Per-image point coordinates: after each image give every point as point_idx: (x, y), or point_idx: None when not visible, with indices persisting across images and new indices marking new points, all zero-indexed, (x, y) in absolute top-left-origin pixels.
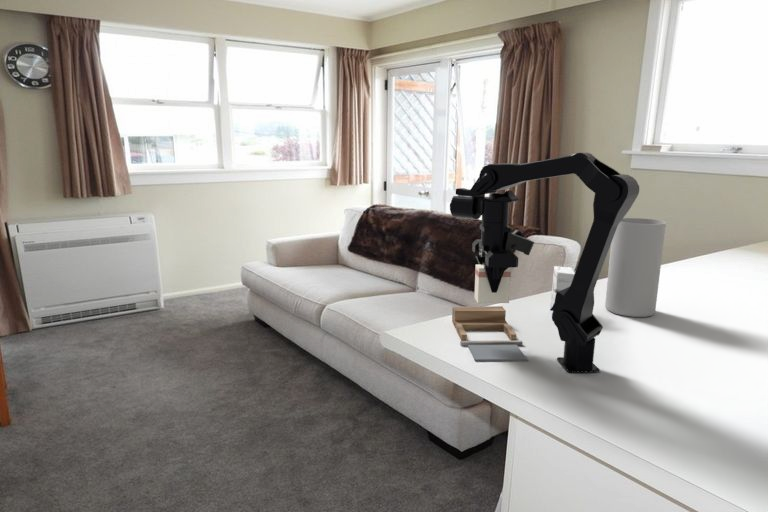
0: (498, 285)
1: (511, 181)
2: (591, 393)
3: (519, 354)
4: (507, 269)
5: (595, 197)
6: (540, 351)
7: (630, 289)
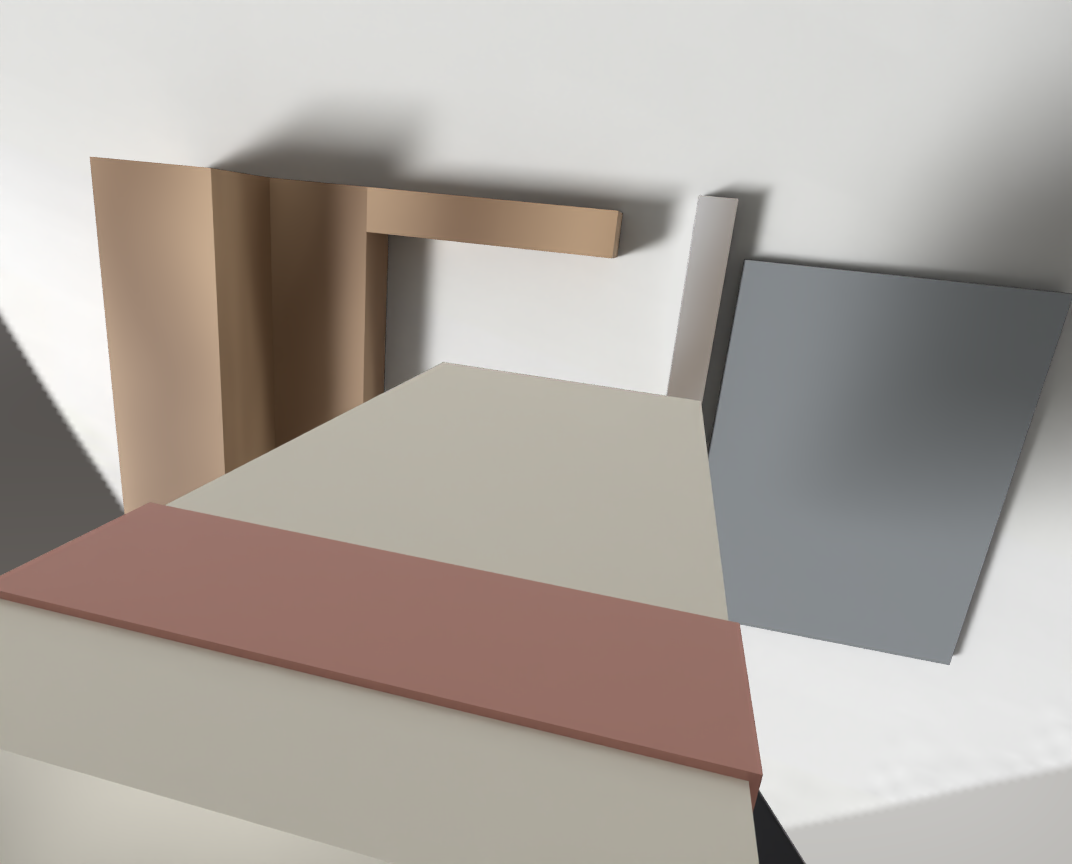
0: (759, 800)
1: None
2: None
3: (957, 320)
4: None
5: None
6: (900, 87)
7: None
